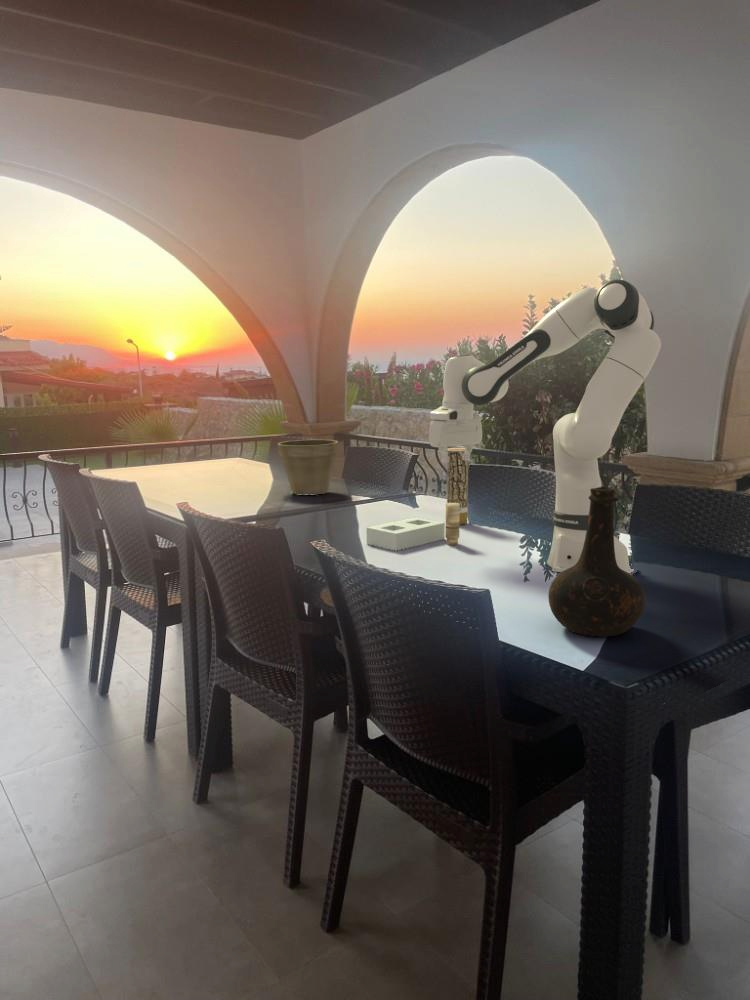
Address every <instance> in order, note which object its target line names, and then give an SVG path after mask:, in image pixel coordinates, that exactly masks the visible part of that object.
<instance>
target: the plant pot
mask: <svg viewBox="0 0 750 1000" xmlns="http://www.w3.org/2000/svg"><path fill="white" fill-rule="evenodd" d="M277 449H278V450H277V451H278V456H280V457H281V461H282V465H283V468H284V470H285V471H284V472H285V474H286V477H287V480H288V484H289V486H290V490H291V492H292V494H293V493H294V494H308V495H310V494H323V493H326V494H327V493H328V491H329V488H330V482H331V478H332V474H333V469H334V466H335V460H336V455H337V454H338V453H339V441H338V440H336V439H335V440H334V439H299V440H298V439H297V440H286V441H281V442H278V443H277ZM294 494H293V495H294ZM323 495H324V494H323Z"/></svg>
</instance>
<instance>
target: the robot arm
mask: <svg viewBox="0 0 750 1000" xmlns="http://www.w3.org/2000/svg"><path fill="white" fill-rule="evenodd" d="M654 319H655V318H654V315H653V313H652V311H651V310H650V308H649V306H648V304H647V300H646V299H645V298H644V297H643V295H642V294H641V293H640V292H639V291H638V289H637V287H635V285H633V284H632V283H630V282H629V281H627V280H624V279H613V280H612V279H611V280H609V281H607V282H606V283H604V284H603V285H601V286H600V287H599V289H596V288H594V287H590V286H589V287H584V288H582V289H580V290H579V291H576V292H575V293H573V294H572V295H570V296H568V297H567V298H565V299H563V300H562V301H561V302H559V303H558V304H557V305H556V306H554V307H553V308H552V309H551V310H550V311H548V312H547V313H546V314H545V315H544V316H543V317H542V318H541V319H540V320H538V322H537V323H535V325H534V326H533V327H532V328H531V329H530V330H529V331H528V332H527V333H526V334H525V335H524V336H523V337H522V338H521V339H520V340H518V341H517V342H516V343H515V344H514V345H512V346H510V347H509V348H508V349H507V350H505V351H504V352H503V353H501V354H499V356H498V357H496V358H495V359H494V360H492V361H490V362H489V363H484V362H482V361H480V360H479V359H477V358H475V356H474V355H472V354H460V355H459V354H458V355H455V356H451V357H450V358H449V357H448V359H447V360H446V362H445V366H444V371H443V381H442V382H443V383H442V389H443V393H444V394H443V398H442V405H441V406H439V407H438V408H436V409H434V410H432V411H431V412H430V413H429V419H430V420H431V421H430V424H429V428H428V429H429V431H428V443H429V445H430V446H431V447H433V448H438V452H439V455H440V461H441V463H442V464H446V463H447V462H449V456H447V453H448V448H451V447H457V446H458V447H459V446H464V448H466V449H465V452H464V454H462V460H468V461H470V458H471V453H472V452H473V450H474V445H480V444H481V443H482V441H483V425H482V421H481V416H480V414H478V412H476V411H474V408H475V407H474V405H476V406H484V405H487V404H489V403H493V402H494V403H495V402H498V401H500V400H501V399H503V398H504V397H505V396H506V395H507V394H508V391H509V386H510V382H509V380H510V379H511V378H512V377H513V376H515V375H516V374H518V372H520V371H522V370H523V369H524V368H525V367H527V366H528V365H530V364H532V363H533V362H536V361H538V360H540V359H543V358H547V357H551V356H556V355H559V354H560V353H563V352H565V351H567V350H568V349H570V348H571V347H573V346H574V345H576V344H578V342H580V341H582V339H584V338H586V336H588V335H589V334H590V333H592V332H594V331H596V330H597V329H599V330H600V329H601V330H604V332H605V333H606V335H608V336H610V337H611V338H612V339H614V342H613V344H612V346H611V348H610V350H609V351H608V353H606V355H605V357H604V358H603V360H602V362H601V363H600V365H599V366H598V368H597V369H596V371H595V373H594V374H593V375H592V377H591V378H590V380H589V381H588V384H587V386H586V387H585V391H584V394H583V396H582V399H581V400H580V403H579V405H578V407H577V409H576V411H575V412H572V413H568V414H565V415H563V416H562V417H561V418H559V419H558V420H557V421H556V423H555V424H554V426H553V429H552V438H553V454H554V455H553V456H554V469H555V509H554V510H553V517H552V528H553V533H552V534H553V535H552V540H551V541H552V543H551V546H550V552H549V555H548V558H547V561H546V564H547V566H549V567H550V568H551V569H552V571H553V572H557V573H561V572H562V571H564V570H566V569H568V568H570V567H572V566H574V565H575V564H576V563H577V562H578V560H579V558H580V555H581V552H582V549H583V546H584V541H585V537H586V531H587V525H588V518H589V510H590V500H589V496H590V495H591V491H590V489H591V488H598V487H602V479H601V476H600V469H599V462H598V459H599V458H601V457H603V456H604V455H605V454H607V452H608V451H609V449H610V447H611V445H612V441H613V440H612V439H613V437H614V435H615V433H616V431H617V429H618V427H619V425H620V422H621V420H622V418H623V416H624V413H625V412H626V409H627V408H628V406H629V404H630V402H631V401H632V400H633V398H634V397H635V395H636V393H637V392H638V390H639V389H640V387H641V386H642V384H643V383H644V382H645V380H646V378H647V377H648V375H649V373H650V371H651V369H653V367H654V364H655V362H656V360H657V358H658V356H659V353H660V350H661V348H662V340H661V338H660V337H659V335H658V334H657V333H656V331H654V327H655V320H654ZM614 549H615V558H616V562H617V565H618V567H619V568H620V569H622V570H624V571H626V572H628V573H631V572H633V571H634V569H631V568H630V566H629V564H630V561H629V560H630V559H629V553H628V548H627V546H626V545H625V544H624V543H623V542H622V541H621V540H619V538H618V537H616V536H615V535H614Z"/></svg>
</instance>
